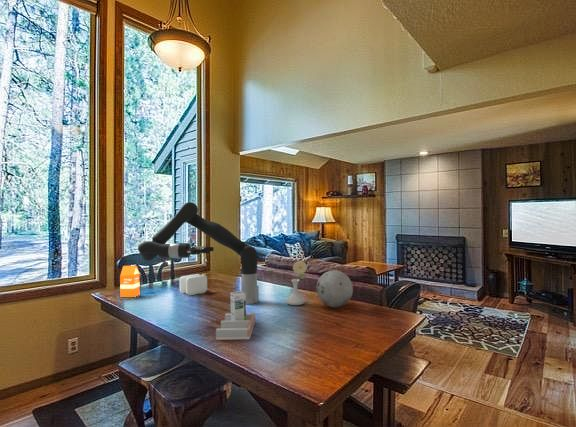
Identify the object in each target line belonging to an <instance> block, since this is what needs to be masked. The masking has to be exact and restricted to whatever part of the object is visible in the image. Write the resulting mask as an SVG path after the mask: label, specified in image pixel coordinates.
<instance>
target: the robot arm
mask: <svg viewBox="0 0 576 427" xmlns="http://www.w3.org/2000/svg"><path fill="white" fill-rule="evenodd" d="M198 212H199V208H198V206H197V204H196V203H194V202H190V201H188V202H186V203H184V204H182V206H181V208H180V209H179V210H178V211H177V213H176V214H175V215H174V216H173V217H172V218H171V219H170V220H169V221H168V222H167V223H166V224H164V226H162V227H161V228H160V229H159V230H158V231H157V232H156V233H155V234H154V235H153V236H152V238H151V239H152V241H150V240H149V241H148V240H146V241H142V242H140V244H138V247H137V251H138V252H139V255H141V257H142V259H143V261H152V260H154V259H155V258H156V257H157V256H158V257H159V258H161V259H164V258H165V259H167V258H169V259H170V258H171V259H172V258H173V259H188V258H190V256H191V255H193V256H194V255H195V256H196V255H197V256H198V255H202V254H210V252H214V249H215V248H214V247H213V246H205V245H203V246H201V245H200V246H199V245H197V246H196V245H193V246H191V244H190V243H189V242H178V243H177V242H175V243H174V242H173V243H167V242H168V241H169V240H170V239H172V237H174V235H175V234H176V233H177V231H178V230H179V229H180V228H181V227H182V226H183V225H184V224H185V223H187V224H188V225H190V226H192V227H194V228H195V229H197V230H199V231H200V232H202V233H203V234H205V235H206V236H208V237H209V238H211V239H212V240H214V241H215V242H216V243H218V244H220V245H222V246H224V247H226V248H228V249H230V250H232V251H234V252H235V253H236V254H237V255H239V256H240V258H241V259H240V260H241V262H240V264H241V265H240V266H241V267H240V274H241V275H240V279H241V282H240V284H241V286H240V287H241V291H243V292H244V293H245V294H246V305H254V304H257V303H258V302H260V300H259V295H260V294H259V291H260V290H259V288H260V287H259V285H258V252H257V249H256V248H255V247H254V246H252V245H249V243H246V242H244V241H243V240H242V239H241V240H240V239H239V238H238V237H236V235H235V234H233V233H232V232H231V231H230V230H229V229H227V228H225V227H224V226H223V225H221V224H219V223H217V222H215V221H211V220H208V219H206V218H203V217H202V216H200V215H199V214H198Z"/></svg>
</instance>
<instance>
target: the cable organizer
mask: <svg viewBox="0 0 576 427" xmlns="http://www.w3.org/2000/svg"><path fill="white" fill-rule="evenodd" d="M178 281H179V292H180V293H182V294H187V295H188V296H194V295H197V294H204V293H206V292H207V291H208V277H207V276H206V275H201V274H198V273H195V274H189V275H183V276H182V275H181V277H179V280H178Z"/></svg>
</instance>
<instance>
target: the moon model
mask: <svg viewBox="0 0 576 427" xmlns="http://www.w3.org/2000/svg"><path fill="white" fill-rule="evenodd" d="M353 292H354V287H353V283H352V280H351V279H350V277H349V276H348V275H347V274H346V273H344V272H343V271H340V270H336V269H335V270H328V271H326V272H324V273H323V274H321V276H319V278H318V279H317V282H316V294H317V297H318V299H319V300H320V301H321V302H322V303H323V304H324V305H325V306H327V307H330V308H340V307H343V306H344V305H346V304H347V303H348V302H349V301H350V300H351V298H352V296H353Z"/></svg>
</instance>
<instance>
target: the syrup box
mask: <svg viewBox="0 0 576 427" xmlns="http://www.w3.org/2000/svg"><path fill="white" fill-rule="evenodd" d="M246 313H247V304H246V294H245V293H244V292H243V291H233V292H232V291H231V292H230V314H231V320H246Z"/></svg>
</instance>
